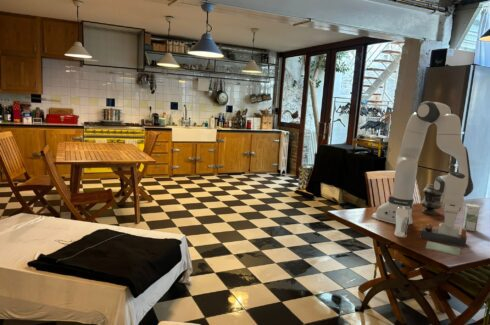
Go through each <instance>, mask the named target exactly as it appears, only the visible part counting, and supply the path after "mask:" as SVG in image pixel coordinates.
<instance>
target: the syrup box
mask: <svg viewBox="0 0 490 325" xmlns="http://www.w3.org/2000/svg"><path fill="white" fill-rule="evenodd" d="M479 214H480V205H478V204H476V203H475V204H474V203H468V202H467V203H466V204H465V208H464V214H463V221H462V228H463V229H467V231H469V232H476V231H477V226H478V220H479Z"/></svg>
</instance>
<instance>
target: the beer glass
mask: <svg viewBox="0 0 490 325" xmlns="http://www.w3.org/2000/svg"><path fill="white" fill-rule="evenodd" d="M410 216H411V208H409V207H406V206H397V210H396V224H395V230H394V233H393V234H394V236H396V237H398V238H407V236H408V233H407V231H408V226H409V225H410V224H409V221H410Z"/></svg>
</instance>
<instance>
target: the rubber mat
mask: <svg viewBox="0 0 490 325" xmlns="http://www.w3.org/2000/svg"><path fill="white" fill-rule="evenodd" d="M425 249H427V250H431V251H435V252H439V253H445V254H448V255H454V256H456V257H457V256H458V257H460V254H461V247H458V246H452V245H449V244H448V245H447V244H444V243H440V242H436V241H431V240H427V243H426V246H425Z"/></svg>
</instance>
